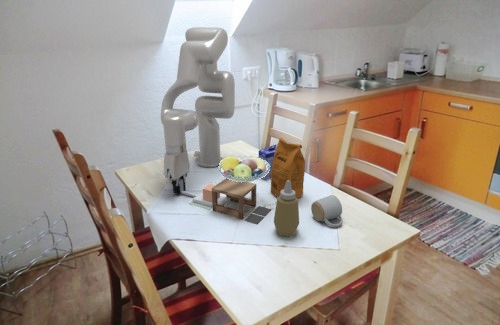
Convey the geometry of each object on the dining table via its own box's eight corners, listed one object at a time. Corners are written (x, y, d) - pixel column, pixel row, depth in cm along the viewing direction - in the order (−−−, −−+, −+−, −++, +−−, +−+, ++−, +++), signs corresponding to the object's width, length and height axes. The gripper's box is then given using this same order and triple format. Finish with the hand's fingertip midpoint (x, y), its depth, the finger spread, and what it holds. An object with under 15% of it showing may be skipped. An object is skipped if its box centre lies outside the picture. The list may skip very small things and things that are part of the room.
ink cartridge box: (265, 180, 149) (266, 148, 143) (257, 176, 153) (257, 145, 147) (282, 174, 155) (283, 143, 149) (273, 170, 159) (274, 140, 153)
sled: (171, 195, 135) (170, 182, 133) (182, 188, 141) (181, 175, 139) (220, 209, 126) (219, 195, 124) (230, 201, 131) (230, 187, 129)
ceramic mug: (308, 215, 123) (310, 196, 120) (327, 210, 126) (329, 191, 123) (328, 231, 114) (330, 211, 111) (347, 225, 118) (350, 205, 115)
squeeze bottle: (291, 242, 108) (294, 189, 101) (268, 234, 112) (270, 182, 105) (302, 229, 115) (306, 179, 108) (280, 222, 119) (282, 173, 112)
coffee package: (285, 185, 145) (287, 134, 136) (306, 197, 135) (310, 142, 127) (266, 191, 139) (267, 138, 131) (286, 204, 130) (289, 148, 122)
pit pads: (244, 220, 120) (244, 220, 119) (258, 206, 129) (258, 205, 128) (257, 224, 117) (257, 223, 117) (271, 209, 126) (271, 209, 126)
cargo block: (203, 199, 130) (202, 188, 128) (209, 194, 134) (209, 183, 132) (213, 202, 128) (212, 191, 126) (220, 197, 132) (219, 186, 130)
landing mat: (189, 203, 130) (189, 203, 130) (204, 192, 138) (204, 192, 138) (209, 209, 126) (209, 209, 126) (224, 198, 134) (224, 197, 134)
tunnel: (212, 211, 125) (211, 188, 122) (227, 198, 134) (227, 177, 130) (242, 219, 120) (242, 196, 117) (256, 206, 129) (256, 183, 125)
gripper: (181, 140, 139) (184, 182, 146) (153, 152, 126) (158, 198, 133) (197, 143, 136) (199, 186, 143) (169, 156, 122) (173, 203, 129)
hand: (179, 191), depth 138 cm, fingers closed on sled, 2 cm apart
